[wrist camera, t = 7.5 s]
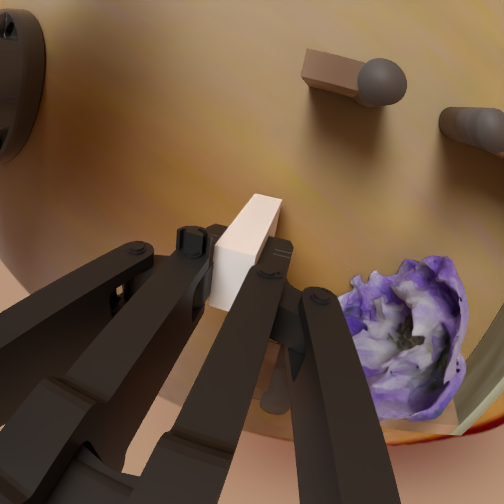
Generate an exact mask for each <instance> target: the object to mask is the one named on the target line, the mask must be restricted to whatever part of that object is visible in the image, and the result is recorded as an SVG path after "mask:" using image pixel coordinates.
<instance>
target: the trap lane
mask: <svg viewBox="0 0 504 504" xmlns="http://www.w3.org/2000/svg"><path fill="white" fill-rule="evenodd" d="M301 77H302V78H303V80H304V81H305V82H306V83H307V85H308V86H310V87H314V88H318V89H322V90H326V91H330V92H334V93H338V94H341V95H345V96H348V97H352V98H353V99H354V100H355V101H356V102H357V103H358V104H359V105H361V106H363V107H367V108H372V107H378V106H385V105H391V104H395V103H397V102H398V101H400V100H401V99H402V98H403V96H404V95H405V93H406V89H407V80H406V77H405V74H404V73H403V71H402V69H401V68H400V67H399V66H398V65H397V64H395V63H394V62H392V61H390V60H387V59H383V58H377V59H372V60H370V61H368V62H367V63H363V62H360V61H356V60H353V59H349V58H345V57H341V56H338V55H334V54H329V53H325V52H321V51H316V50H312V49H307V50H306V55H305V59H304V64H303V69H302V73H301ZM439 126H440V129H441V131H442V133H443V134H444V135H445V136H446V137H447V138H449V139H452V140H455V141H459V142H462V143H466V144H469V145H472V146H475V147H479V148H482V149H484V150H486V151H488V152H490V153H492V154H493V155H495V156H497V157H499V158H501V159H503V160H504V113H503V112H502V111H501V110H499V109H495V108H474V107H449V108H446V109H444V110H443V111H442V112H441V114H440V117H439ZM284 349H285V346H284V345H283V344H282V345H279V344H276V343H272V342H268V345H267V349H266V352H265V355H264V359H263V362H262V366H261V369H260V373H259V376H258V379H257V383H256V386H255V389H254V393H253V396H252V398H254V399H257V400H261V401H260V407H261V408H262V409H263V410H264V411H265V412H267V413H270V414H275V415H280V414H284V413H286V412H287V411H288V410H289V405H290V398H289V389H288V380H287V371H286V362H285V353H284ZM465 363H466V374H465V376H464V379H463V382H462V383H461V385H460V387H459V389H458V391H457V392H456V394H455V395H454V397H453V398H452V399H451V401H450V402H449V404H448V405H447V406H446V408H445V409H444V411H443V413H442V415H440V416H439V417H438V418H436V419H432V420H425V421H418V422H409V421H408V420H406V419H405V418H403V419H397V420H392V419H389V418H387V419H386V421H383V422H380V426H381V427H383V428H390V429H397V430H405V431H414V432H423V433H434V434H447V435H462V434H463V433H464V432H465V431H466V430H467V429H468V428H469V427H470V426H471V425H472V424H473V423H474V422H475V421H476V420H477V419H478V418H479V417H480V416H481V415H482V414H483V413H484V412H485V411H486V410H487V409H488V408H489V407H490V406H491V405H492V404H493V403H494V401H495V400H496V399H497V398H498V397H499V396H500V395H501V394H502V392H503V391H504V304H503V306H502V308H501V309H500V311H499V313H498V314H497V316H496V318H495V319H494V321H493V323H492V324H491V326H490V327H489V329H488V330H487V332H486V334H485V335H484V337H483V338H482V340H481V341H480V343H479V344H478V345H477V347H476V348H475V350H474V351H473V353H472V354H471V355H470V357H469V358H468V360H467V361H466V362H465Z"/></svg>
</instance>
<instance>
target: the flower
mask: <svg viewBox="0 0 504 504" xmlns="http://www.w3.org/2000/svg"><path fill="white" fill-rule="evenodd" d="M350 283H351V284H352V285H353V287H354V289H353V290H352V291H350V292H348V293H345V294H342V295H340V296H339V297H338V300H339V302H340V305H341V307H342V310H343V313H344V316H345V318H346V321H347V324H348V327H349V330H350V332H351V335H352V338H353V341H354V344H355V347H356V350H357V353H358V356H359V359H360V362H361V365H362V368H363V371H364V374H365V377H366V380H367V383H368V386H369V389H370V393H371V396H372V399H373V402H374V405H375V409H376V412H377V415H378V419H379V422H383V421H386V419H387V418H389V419H392V420H397V419H403V418H405V419H406V420H408V421H409V422H418V421H425V420H432V419H436V418H438V417H439V416H440V415H442V413H443V411H444V409H445V408H446V406H447V405H448V404H449V402H450V401H451V399H452V398H453V397H454V395H455V394H456V392H457V391H458V389H459V387H460V385H461V383H462V382H463V379H464V376H465V374H466V363H465V360H464V357H463V355H462V353H461V350H460V349H461V345H462V342H463V340H464V338H465V335H466V331H467V328H468V320H469V305H468V301H467V297H466V293H465V289H464V286H463V284H462V282H461V280H460V278H459V276H458V274H457V272H456V269H455V266H454V263H453V261H452V260H451V259H450V258H449V257H448V256H445V257H440V256H429V257H425V258H424V259H422V260H421V261H419V262H417V261H415V260H409V259H405V260H404V261H403V263H402V265H401V266H400V268H399V270H398V273H397V274H395V275H392V276H387V277H385V276H382V275H381V274H379V273H378V272H377V271H376V270H375V271H373V272H372V273H371V274H370V277H369V281H368V283H364V282H363V281H362V276H361V275H357V276H354V277H353V278H352V279H351V281H350Z"/></svg>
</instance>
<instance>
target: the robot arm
mask: <svg viewBox="0 0 504 504" xmlns="http://www.w3.org/2000/svg"><path fill="white" fill-rule="evenodd" d="M44 61H45V60H44V42H43V36H42V31H41V28H40V25H39V23H38V21H37V19H36V18H35V16H34V15H33V14H32V13H30V12H29V11H26V10H20V9H0V164H2V163H5V162H8V161H10V160H11V159H13V158H14V157H15V156H16V155H17V154H18V153H19V151H20V150H21V149H22V147H23V146H24V144H25V142H26V140H27V138H28V136H29V134H30V132H31V129H32V127H33V124H34V121H35V117H36V114H37V110H38V106H39V102H40V97H41V92H42V85H43V77H44ZM281 203H282V200H281V199H277V198H273V197H268V196H264V195H260V194H254V195H253V197H252V198H251V199H250V200H249V202H248V203H247V204H246V205H245V207H244V208H243V209H242V211H241V212H240V213H239V214H238V216H237V217H236V218H235V219H234V221H233V222H232V223H231V225H230V226H229V227H227V226H223V225H219V224H214V225H211V226H209V227H207V228H206V229H205V228H202V227H198V226H185V227H181V228H179V229H177V239H176V250H175V251H174V252H173V253H172V254H171V255H170V256H163V255H154V248H153V246H152V245H150V244H149V243H145V242H142V241H140V242H139V241H135V242H129V243H126V244H124V245H122V246H120V247H118V248H116V249H114V250H112V251H110V252H108V253H106V254H104V255H102V256H101V257H99V258H97V259H95V260H93V261H91V262H89V263H87V264H85V265H84V266H82V267H80V268H78V269H76V270H74V271H72V272H71V273H69V274H67V275H65V276H63V277H61V278H60V279H58V280H56V281H54V282H52V283H51V284H49V285H47V286H45V287H44V288H42V289H40V290H38V291H37V292H35V293H33V294H31V295H30V296H28V297H26V298H25V299H23V300H21V301H20V302H18V303H16V304H15V305H13V306H11V307H9V308H8V309H6V310H4V311H3V312H1V313H0V427H1V426H2V425H4V424H5V426H4V427H3V428H2V430H1V431H0V504H217V503H218V500H219V497H220V494H221V491H222V488H223V485H224V483H225V480H226V476H227V474H228V471H229V468H230V465H231V462H232V459H233V456H234V453H235V450H236V447H237V443H238V440H239V437H240V434H241V431H242V428H243V425H244V422H245V418H246V415H247V412H248V409H249V406H250V402H251V399H252V396H253V393H254V389H255V386H256V383H257V379H258V376H259V373H260V369H261V366H262V362H263V359H264V355H265V352H266V349H267V345H268V342H269V338H271V339H273V340H275V341H277V342H279V343H281V344H283V345H284V346H285V349H284V353H285V362H286V371H287V380H288V389H289V398H290V407H291V416H292V426H293V436H294V445H295V455H296V466H297V477H298V487H299V498H300V504H401V502H400V497H399V493H398V489H397V485H396V481H395V477H394V473H393V469H392V465H391V461H390V458H389V454H388V450H387V447H386V443H385V439H384V436H383V432H382V429H381V426H380V422H379V419H378V415H377V412H376V409H375V405H374V402H373V399H372V396H371V393H370V389H369V386H368V383H367V380H366V377H365V374H364V371H363V368H362V365H361V362H360V359H359V356H358V353H357V350H356V347H355V344H354V341H353V338H352V335H351V332H350V330H349V327H348V324H347V321H346V318H345V316H344V313H343V310H342V307H341V305H340V302H339V300H338V298H337V296H336V295H335V294H333V293H332V292H331V291H329V290H327V289H325V288H321V287H308V288H305V289H304V290H303V291H302V292H301V291H299V290H297V289H295V288H294V287H293V286H291V285H290V284H289V282H288V281H287V279H286V275H287V271H288V267H289V263H290V259H291V255H292V251H293V245H292V243H291V242H290V241H288V240H284V239H280V238H276V237H275V232H276V227H277V223H278V218H279V213H280V208H281ZM121 285H122V289H123V292H122V293H121V294H119V295H117V292H116V288H117V287H119V286H121ZM208 296H209V302H208V306H211V307H215V308H218V309H221V310H225V311H228V314H227V316H226V318H225V321H224V323H223V325H222V327H221V329H220V331H219V333H218V335H217V337H216V339H215V341H214V343H213V345H212V347H211V349H210V352H209V354H208V356H207V358H206V360H205V362H204V364H203V366H202V368H201V370H200V372H199V374H198V376H197V378H196V380H195V382H194V384H193V387H192V389H191V391H190V393H189V395H188V397H187V399H186V401H185V403H184V405H183V407H182V409H181V411H180V413H179V415H178V417H177V419H176V422H175V423H174V425H173V427H172V429H171V430H170V431H168V432H165V433H164V434H163V435H162V436H161V437H160V439H159V441H158V443H157V444H156V446H155V448H154V450H153V452H152V454H151V456H150V458H149V460H148V462H147V464H146V466H145V468H144V470H143V472H142V474H141V476H134V475H130V474H125V473H121V471H122V469H123V466H124V462H125V454H126V451H127V448H128V446H129V444H130V443H131V441H132V439H133V437H134V436H135V434H136V432H137V430H138V428H139V427H140V425H141V423H142V421H143V419H144V418H145V416H146V414H147V412H148V411H149V409H150V407H151V405H152V403H153V401H154V400H155V398H156V396H157V394H158V393H159V391H160V389H161V387H162V386H163V384H164V382H165V380H166V378H167V377H168V375H169V373H170V371H171V370H172V368H173V366H174V364H175V363H176V361H177V359H178V357H179V355H180V354H181V352H182V350H183V348H184V347H185V345H186V343H187V341H188V340H189V338H190V336H191V334H192V333H193V331H194V329H195V327H196V326H197V324H198V322H199V320H200V319H201V317H202V315H203V313H204V309H205V301H206V300H207V298H208Z"/></svg>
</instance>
